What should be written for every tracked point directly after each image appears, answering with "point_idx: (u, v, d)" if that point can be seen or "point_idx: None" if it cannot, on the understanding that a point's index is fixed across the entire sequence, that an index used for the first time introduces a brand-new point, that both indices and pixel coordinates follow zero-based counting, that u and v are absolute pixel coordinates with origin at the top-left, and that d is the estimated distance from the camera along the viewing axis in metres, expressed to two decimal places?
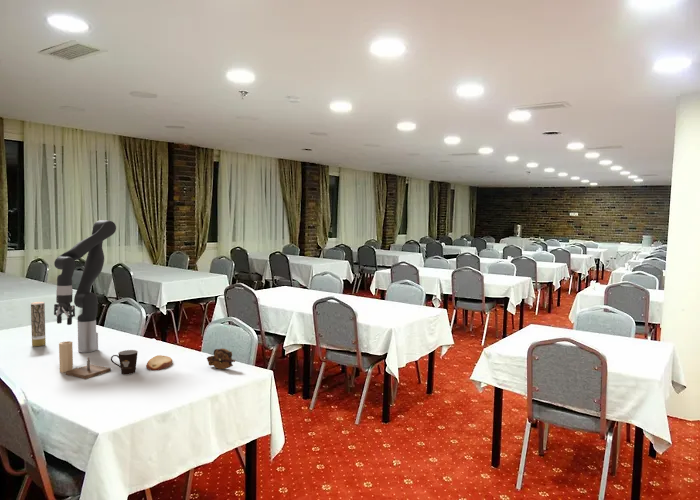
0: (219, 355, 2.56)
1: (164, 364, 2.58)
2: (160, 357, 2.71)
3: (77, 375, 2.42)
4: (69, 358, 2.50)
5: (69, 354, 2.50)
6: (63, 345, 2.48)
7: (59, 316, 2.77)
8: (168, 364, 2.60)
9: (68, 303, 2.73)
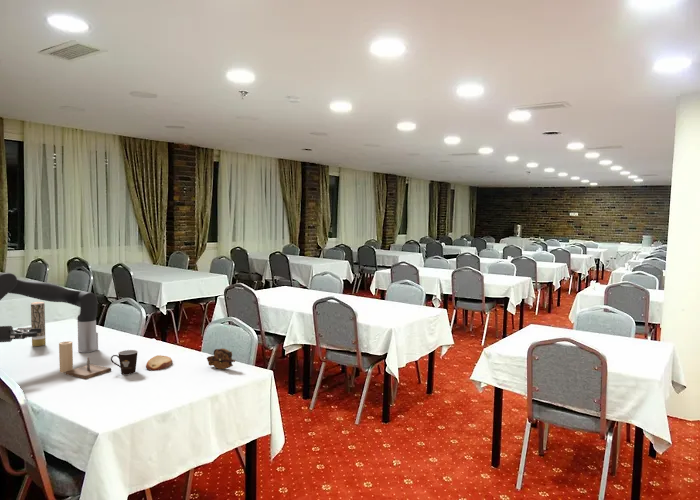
0: (219, 355, 2.56)
1: (164, 364, 2.58)
2: (160, 357, 2.71)
3: (77, 375, 2.42)
4: (69, 358, 2.50)
5: (69, 354, 2.50)
6: (63, 345, 2.48)
7: (32, 331, 2.49)
8: (168, 364, 2.60)
9: (9, 335, 2.39)
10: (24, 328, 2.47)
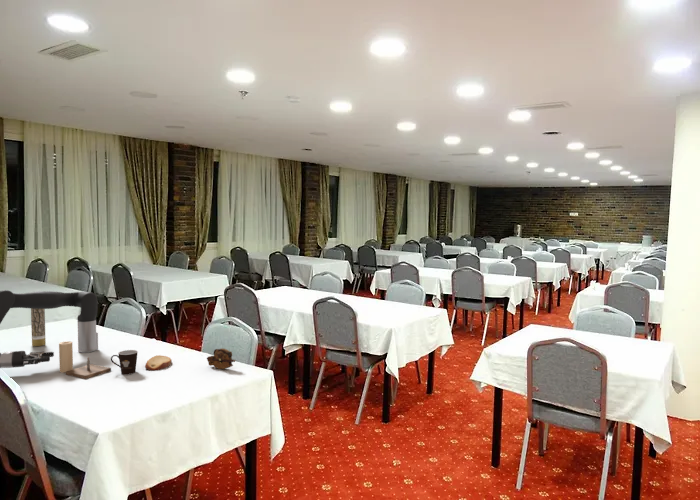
0: (219, 355, 2.56)
1: (163, 364, 2.58)
2: (159, 357, 2.71)
3: (77, 375, 2.42)
4: (69, 358, 2.50)
5: (69, 354, 2.50)
6: (63, 345, 2.48)
7: (44, 355, 2.52)
8: (167, 364, 2.60)
9: (22, 361, 2.42)
10: (37, 352, 2.49)
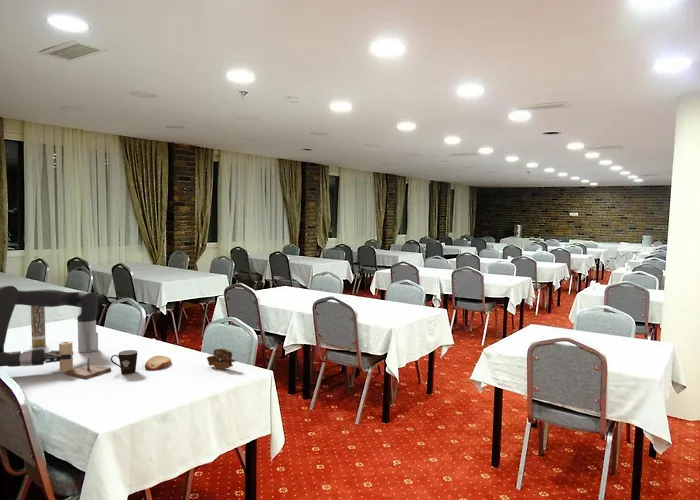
0: (219, 355, 2.56)
1: (163, 364, 2.58)
2: (158, 357, 2.71)
3: (77, 375, 2.42)
4: None
5: None
6: (63, 345, 2.48)
7: None
8: (167, 364, 2.60)
9: (42, 359, 2.45)
10: (56, 351, 2.52)
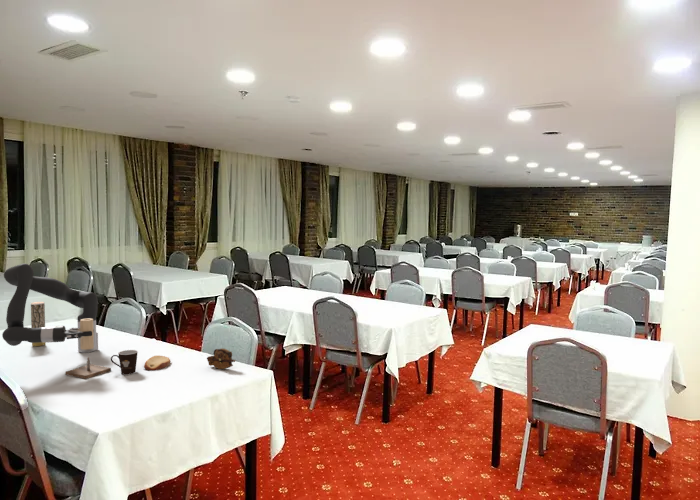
0: (219, 355, 2.56)
1: (162, 364, 2.58)
2: (158, 357, 2.71)
3: (77, 375, 2.42)
4: None
5: None
6: (84, 322, 2.45)
7: None
8: (166, 364, 2.60)
9: (63, 335, 2.41)
10: (77, 328, 2.48)
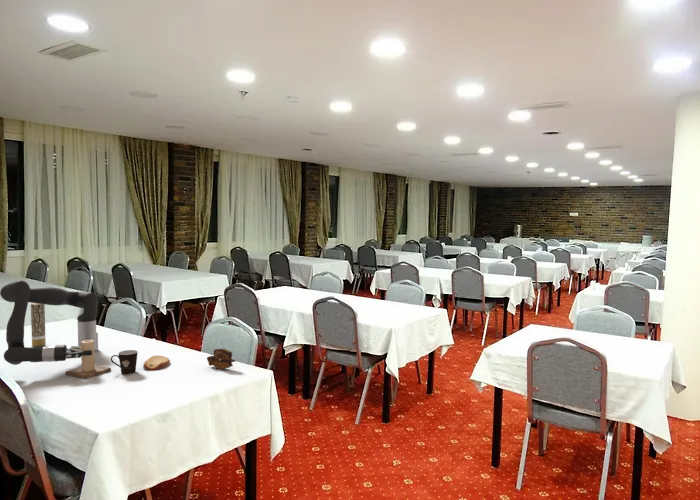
0: (219, 355, 2.56)
1: (161, 364, 2.58)
2: (157, 357, 2.71)
3: (77, 375, 2.42)
4: (91, 357, 2.47)
5: None
6: (85, 344, 2.46)
7: None
8: (165, 364, 2.60)
9: (64, 355, 2.42)
10: (78, 347, 2.49)
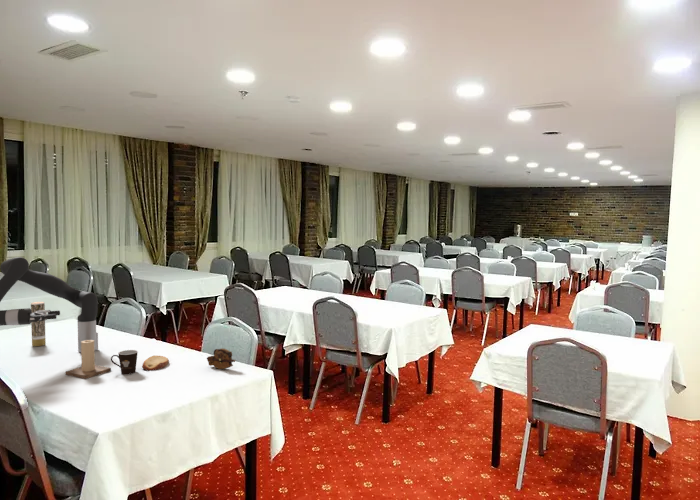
0: (219, 355, 2.56)
1: (160, 364, 2.58)
2: (156, 357, 2.71)
3: (77, 375, 2.42)
4: (91, 357, 2.47)
5: (91, 353, 2.47)
6: (85, 344, 2.46)
7: (51, 313, 2.47)
8: (164, 364, 2.60)
9: (28, 318, 2.38)
10: (43, 310, 2.45)
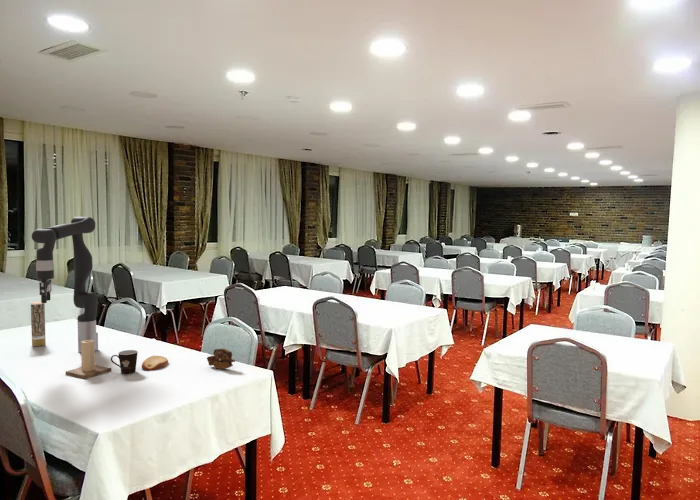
0: (219, 355, 2.56)
1: (159, 364, 2.58)
2: (155, 357, 2.71)
3: (77, 375, 2.42)
4: (91, 357, 2.47)
5: (91, 353, 2.47)
6: (85, 344, 2.46)
7: (47, 293, 2.59)
8: (163, 364, 2.60)
9: (43, 279, 2.51)
10: (50, 287, 2.58)
